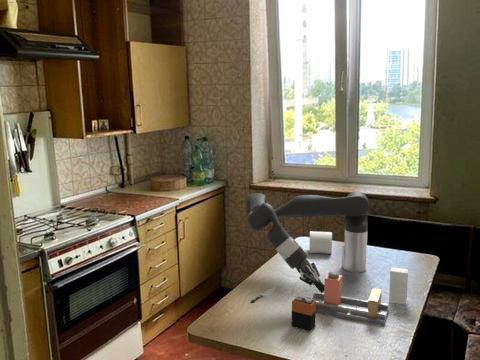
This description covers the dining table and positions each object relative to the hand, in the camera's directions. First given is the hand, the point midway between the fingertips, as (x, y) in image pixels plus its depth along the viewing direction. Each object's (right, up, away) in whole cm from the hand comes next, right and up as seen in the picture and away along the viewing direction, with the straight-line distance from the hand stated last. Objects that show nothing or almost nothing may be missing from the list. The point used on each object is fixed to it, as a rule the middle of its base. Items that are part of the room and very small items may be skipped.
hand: (323, 290), depth 163 cm
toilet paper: (+8, +4, +56) cm, 57 cm away
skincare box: (+28, -5, +5) cm, 29 cm away
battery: (-9, -9, -12) cm, 18 cm away
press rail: (+8, -7, -2) cm, 10 cm away
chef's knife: (-19, -5, +12) cm, 23 cm away
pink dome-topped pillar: (+3, -5, 0) cm, 6 cm away
